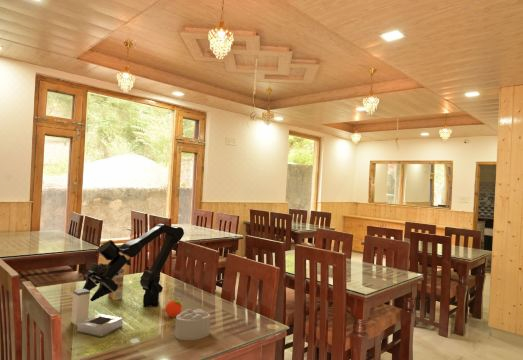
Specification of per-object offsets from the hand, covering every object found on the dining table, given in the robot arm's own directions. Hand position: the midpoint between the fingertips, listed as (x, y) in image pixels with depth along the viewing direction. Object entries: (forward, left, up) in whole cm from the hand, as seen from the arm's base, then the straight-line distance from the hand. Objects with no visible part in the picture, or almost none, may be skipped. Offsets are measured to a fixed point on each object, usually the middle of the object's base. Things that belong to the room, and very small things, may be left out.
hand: (85, 297), depth 143 cm
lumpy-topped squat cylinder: (-43, +13, -10) cm, 46 cm away
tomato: (-35, -5, -9) cm, 37 cm away
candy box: (-4, -31, -9) cm, 33 cm away
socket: (-9, +9, -9) cm, 15 cm away
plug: (+1, +1, -9) cm, 9 cm away
